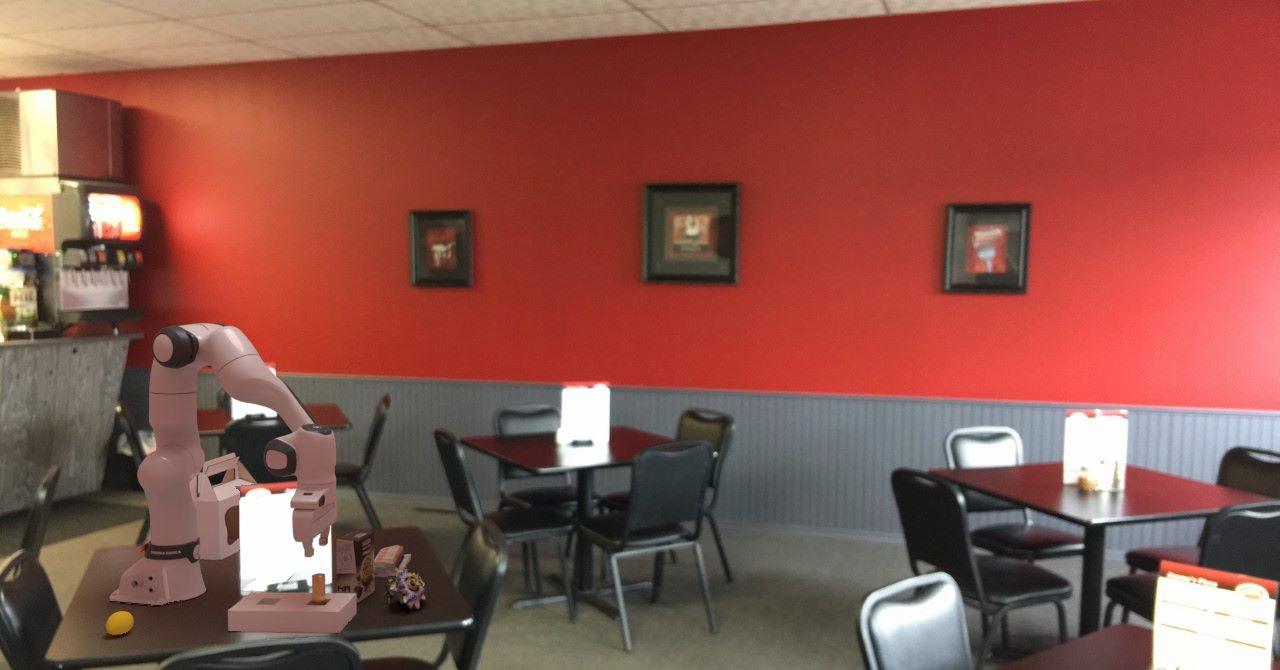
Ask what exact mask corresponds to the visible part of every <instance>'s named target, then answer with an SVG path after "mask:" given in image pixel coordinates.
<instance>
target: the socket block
mask: <svg viewBox="0 0 1280 670" xmlns="http://www.w3.org/2000/svg"><path fill="white" fill-rule="evenodd" d="M325 593H326V605H312V592H278V591H250V592H249V593H248V594H247V595H245V596H244V597H243V598H242V599H241V600H240V601H238V602H237V603H235V604H234V605H233V606H232V607H231V608H228V610H227V626H228V630H227V631H241V632H242V633H244V632H245V633H246V632H249V633H303V634H304V633H305V634H306V633H309V634H310V633H319V634H320V633H321V634H322V633H323V634H328V633H329V634H340V633H341V632H342V630H343V629H345V627H346V626H347V625H348V624H349V623H350V622H351V621H352V619H353V618H355V616H356V615H357V608H358V607H357V603H356V593H337V592H333V593H332V592H325ZM348 622H349V623H348ZM241 632H240V633H241Z"/></svg>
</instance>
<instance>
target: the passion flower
mask: <svg viewBox="0 0 1280 670" xmlns="http://www.w3.org/2000/svg"><path fill="white" fill-rule="evenodd" d="M395 573H396V577H394V580H393V577H390V578H389V579H387V582H386V584H384V587H385V589H386V590H385V592H384V593H383V594H382V597H384V598H385V597H386V596H388V605H390V604H391V601H392V600H393V599H394V598H395V596H396V595H398V594H400V593H401V594H402V595H401V597H400V599H399V602H400V604H401V605H403V604H405V605H406V607H407V608H408V609H410V610H412V609H414V610H419V609H420V600H422V601H425V600H426V596H425V595H424V593H426V591H425V588H424V586H425V582H423V579H422V577H421V573H420V572H417V574H416V573H415V572H408V568H406V569H405V570H403V572H401V571H399V570H398V568H395Z"/></svg>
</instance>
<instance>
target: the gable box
mask: <svg viewBox="0 0 1280 670" xmlns="http://www.w3.org/2000/svg"><path fill="white" fill-rule="evenodd" d="M239 459H240V455H239V456H236V453H235V452H230V453H227V454H224V455H221V456H218V457H215V458H211V459H208V460H205V461H204V464H203V467H202V469H201V470H200V472H199V474H198V475H197V476H196V477H194V478H193V479H191V480H190V491H191V495H192V499H193V502H194V504H195V505H196V507H197V522H198V537H199V538H200V559H199V560H202V559H204V560H205V561H222V560H224V559H226V558H228V557H230V556H232V555H234V554H236V553H238V552H240V551H239V500H240V491H239V490H238V489H236V487H235V486H241V485H251V484H259V483H258V482H257V480H256V479H255V478H254V477H253V475H252V474H251V473H250V471H249V470H248V469H247V467H245V465H244V464H243V463H242V462H241V460H239ZM225 471H226V472H225ZM222 472H225V474H224V477H223V478H222V481H221V483H218V484H215V485H212V483H211V481H210V478H209V477H210V476H213V475H216V474H220V473H222Z"/></svg>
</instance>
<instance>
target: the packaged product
mask: <svg viewBox="0 0 1280 670" xmlns="http://www.w3.org/2000/svg"><path fill="white" fill-rule="evenodd" d="M411 558H412V554H411V553H409V554H408V553H407V554H404V546H401V545H399V544H395V545H394V544H393V545H391V546H387V547H383V548H381V549H380V550H379V551H378V553H377V555H376V556H374V577H375V578H389V577H388V576H396V573H395V568H398V570H399V571H401V572H403V570H405V568H406V569H407V567H408V566H409V564H410V561H411ZM408 563H409V564H408ZM407 565H408V566H407Z"/></svg>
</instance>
